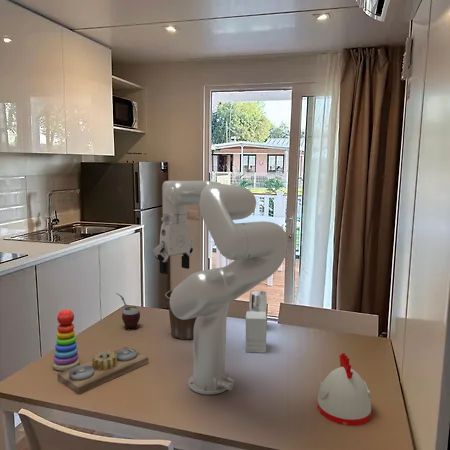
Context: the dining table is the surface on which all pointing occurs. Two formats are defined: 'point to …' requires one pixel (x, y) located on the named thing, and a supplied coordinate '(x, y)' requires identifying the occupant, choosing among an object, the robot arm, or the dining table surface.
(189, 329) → the plant pot
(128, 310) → the mate gourd
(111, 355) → the brass gear
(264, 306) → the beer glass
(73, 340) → the stacking toy
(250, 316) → the supplement box
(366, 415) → the kitchen timer
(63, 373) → the gear board
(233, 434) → the dining table surface
